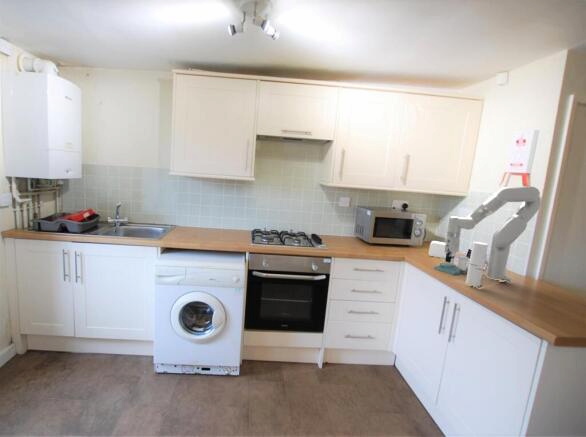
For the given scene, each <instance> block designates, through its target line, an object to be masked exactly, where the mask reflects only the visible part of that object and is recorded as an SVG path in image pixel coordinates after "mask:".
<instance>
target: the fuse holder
mask: <svg viewBox="0 0 586 437" xmlns="http://www.w3.org/2000/svg"><path fill="white" fill-rule="evenodd" d="M444 264H445V262H442V263H439V265H444ZM445 266H448V265H445ZM448 267H452V268H455V269H457V268H458V266H457V265H455V264H454V265H453V266H448ZM458 270H460V273H459V274H461V273H462V275H467V274H466V273H467V272H468V268H466V270H461V269H458Z"/></svg>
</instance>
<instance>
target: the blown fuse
mask: <svg viewBox="0 0 586 437" xmlns="http://www.w3.org/2000/svg"><path fill="white" fill-rule="evenodd" d="M448 251H449V250H448ZM449 252H450V251H449ZM449 252H448V253H449ZM454 256H456V253H455V252H453V253H452V252H451V256H450V257H451V261H450V263H449V262H446V261H445V260H444V263H445V264H444V265H448V266H453V265H455V263H454V261H455V257H454Z"/></svg>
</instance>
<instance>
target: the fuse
mask: <svg viewBox="0 0 586 437" xmlns="http://www.w3.org/2000/svg"><path fill="white" fill-rule="evenodd" d="M469 259H470V256H465V255H459V256H458V264H457V267H458V268H457V269H461V270H466V269H467V264H468V260H469Z"/></svg>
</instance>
